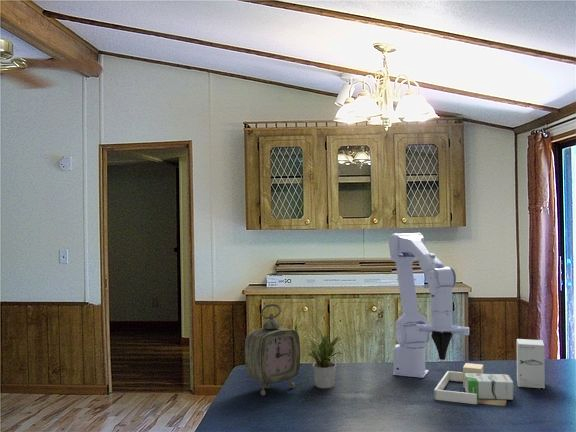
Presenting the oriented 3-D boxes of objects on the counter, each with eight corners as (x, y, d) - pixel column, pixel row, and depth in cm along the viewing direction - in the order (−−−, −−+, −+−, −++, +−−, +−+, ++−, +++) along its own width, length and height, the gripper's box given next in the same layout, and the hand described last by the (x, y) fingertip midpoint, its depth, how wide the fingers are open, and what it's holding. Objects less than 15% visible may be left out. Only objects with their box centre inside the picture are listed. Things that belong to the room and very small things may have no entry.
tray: (434, 399, 165) (433, 389, 165) (447, 379, 183) (447, 370, 183) (476, 404, 160) (476, 394, 160) (486, 383, 179) (485, 374, 179)
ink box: (467, 399, 164) (514, 400, 162) (467, 380, 164) (513, 382, 162) (464, 389, 173) (508, 391, 170) (464, 372, 173) (508, 373, 170)
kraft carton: (463, 388, 175) (462, 367, 175) (465, 383, 180) (465, 363, 179) (481, 389, 173) (481, 368, 173) (483, 385, 177) (483, 364, 177)
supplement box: (517, 387, 174) (516, 343, 174) (516, 380, 181) (516, 338, 181) (545, 389, 172) (544, 345, 172) (543, 382, 179) (542, 339, 179)
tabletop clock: (261, 399, 168) (259, 308, 168) (242, 391, 175) (240, 305, 175) (301, 388, 177) (299, 302, 177) (281, 381, 184) (280, 299, 184)
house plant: (360, 390, 174) (359, 333, 174) (316, 396, 169) (315, 338, 169) (338, 377, 188) (337, 324, 187) (297, 383, 183) (296, 328, 182)
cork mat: (465, 401, 163) (465, 401, 163) (471, 390, 173) (471, 389, 173) (505, 406, 158) (505, 405, 158) (508, 394, 168) (508, 393, 168)
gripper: (412, 311, 170) (413, 359, 170) (466, 314, 163) (467, 364, 164) (418, 307, 176) (419, 354, 176) (470, 310, 170) (470, 358, 170)
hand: (442, 358), depth 170 cm, fingers closed
